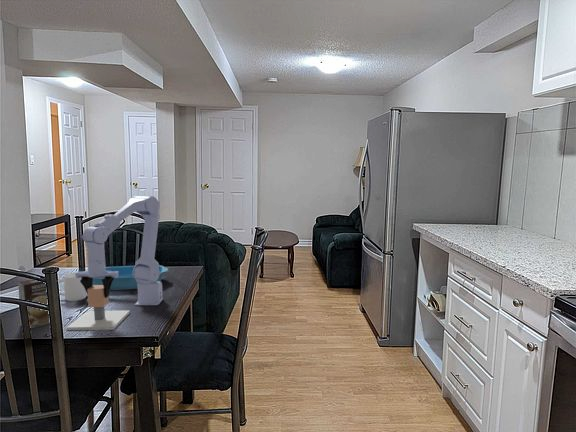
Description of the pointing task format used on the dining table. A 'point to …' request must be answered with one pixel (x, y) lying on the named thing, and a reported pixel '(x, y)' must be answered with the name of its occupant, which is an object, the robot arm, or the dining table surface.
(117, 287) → the casserole dish
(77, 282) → the mug
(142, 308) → the dining table surface
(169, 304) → the dining table surface
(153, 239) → the robot arm
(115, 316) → the white board
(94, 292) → the tan rectangular block
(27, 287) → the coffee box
